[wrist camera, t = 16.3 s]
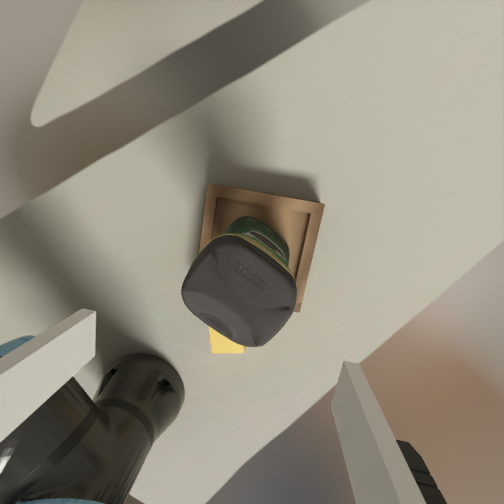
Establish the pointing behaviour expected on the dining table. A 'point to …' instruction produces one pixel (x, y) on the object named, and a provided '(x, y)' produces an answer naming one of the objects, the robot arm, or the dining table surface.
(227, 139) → the dining table surface
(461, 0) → the dining table surface
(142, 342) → the dining table surface
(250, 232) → the coffee jar
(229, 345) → the mustard cube
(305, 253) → the walnut tray
